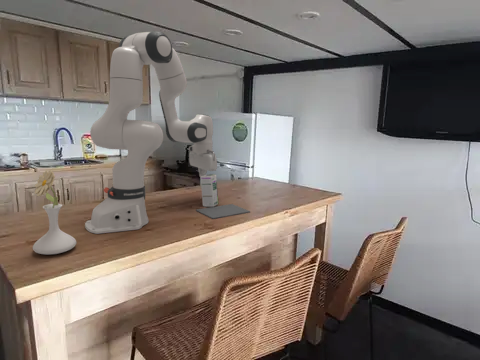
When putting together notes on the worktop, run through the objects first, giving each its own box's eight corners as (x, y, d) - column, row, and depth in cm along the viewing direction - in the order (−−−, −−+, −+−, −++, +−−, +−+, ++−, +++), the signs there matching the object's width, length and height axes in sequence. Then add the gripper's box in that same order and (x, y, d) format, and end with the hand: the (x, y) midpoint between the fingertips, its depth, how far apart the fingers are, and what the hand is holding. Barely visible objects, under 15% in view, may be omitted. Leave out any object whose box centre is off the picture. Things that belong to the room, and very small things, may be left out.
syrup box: (213, 207, 147) (211, 176, 145) (202, 206, 149) (200, 175, 147) (218, 204, 153) (216, 174, 150) (207, 203, 154) (205, 174, 152)
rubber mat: (212, 219, 131) (212, 218, 131) (195, 210, 142) (195, 209, 142) (250, 212, 143) (250, 211, 143) (232, 204, 154) (232, 203, 154)
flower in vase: (33, 246, 98) (26, 165, 93) (75, 240, 103) (70, 164, 99) (32, 263, 87) (24, 173, 82) (79, 256, 93) (74, 171, 88)
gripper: (220, 151, 146) (219, 180, 149) (198, 146, 162) (197, 173, 165) (209, 151, 142) (208, 181, 145) (187, 147, 158) (186, 174, 161)
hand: (202, 177), depth 155 cm, fingers closed
